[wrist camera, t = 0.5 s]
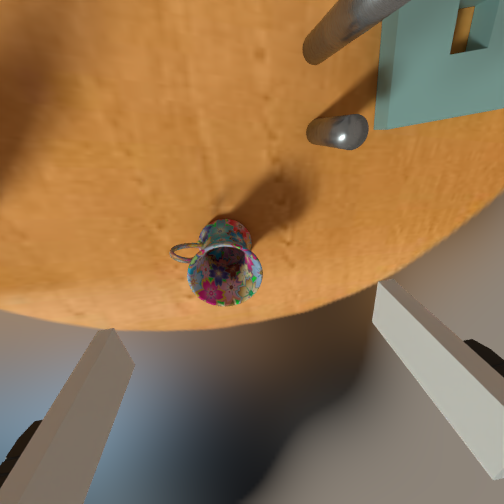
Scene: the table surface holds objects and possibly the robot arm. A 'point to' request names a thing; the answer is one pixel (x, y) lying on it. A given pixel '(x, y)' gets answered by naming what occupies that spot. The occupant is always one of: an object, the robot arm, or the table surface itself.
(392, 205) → the table surface
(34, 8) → the table surface
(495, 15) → the hole block
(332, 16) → the long pin
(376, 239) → the table surface
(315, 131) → the medium pin
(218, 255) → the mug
